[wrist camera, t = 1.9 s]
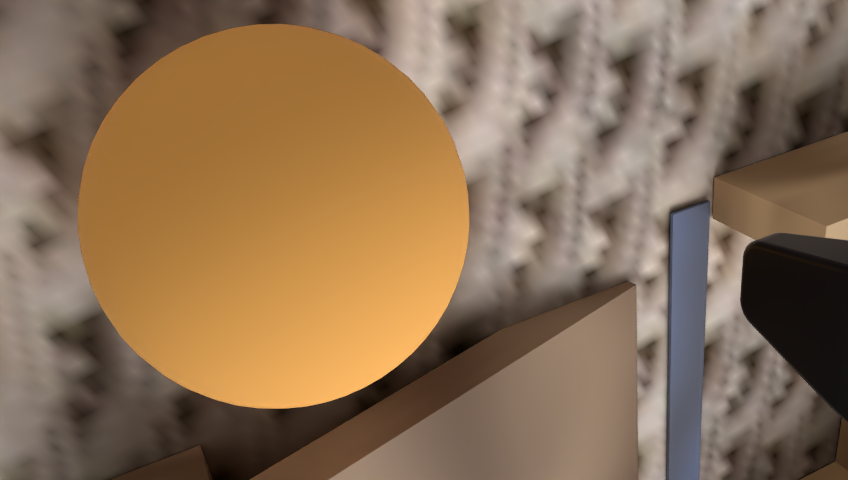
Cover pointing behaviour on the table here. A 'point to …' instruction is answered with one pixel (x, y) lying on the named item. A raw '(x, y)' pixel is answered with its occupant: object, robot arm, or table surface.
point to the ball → (273, 216)
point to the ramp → (490, 410)
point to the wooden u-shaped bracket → (755, 217)
